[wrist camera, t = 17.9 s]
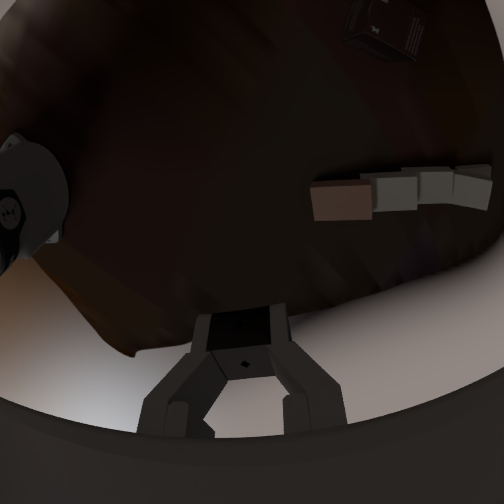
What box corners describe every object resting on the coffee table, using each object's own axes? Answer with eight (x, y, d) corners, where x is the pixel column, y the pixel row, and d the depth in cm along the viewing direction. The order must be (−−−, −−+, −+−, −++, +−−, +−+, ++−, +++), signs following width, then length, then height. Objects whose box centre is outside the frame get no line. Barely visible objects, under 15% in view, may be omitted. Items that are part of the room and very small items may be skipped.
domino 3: (404, 204, 32) (451, 202, 30) (403, 172, 30) (453, 171, 27) (401, 198, 34) (447, 196, 31) (400, 167, 31) (448, 166, 29)
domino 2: (363, 212, 33) (416, 209, 30) (360, 179, 31) (417, 176, 28) (362, 205, 34) (414, 202, 32) (359, 173, 32) (413, 171, 29)
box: (385, 63, 24) (417, 63, 18) (337, 40, 23) (361, 32, 17) (398, 23, 21) (431, 16, 15) (352, 0, 20) (377, -17, 14)
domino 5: (444, 202, 32) (486, 210, 28) (448, 172, 29) (492, 181, 26) (443, 196, 33) (484, 204, 30) (446, 168, 30) (489, 176, 27)
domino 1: (314, 220, 34) (371, 219, 31) (309, 187, 31) (370, 185, 29) (316, 213, 35) (371, 212, 33) (311, 181, 33) (369, 178, 30)
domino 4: (457, 198, 32) (488, 193, 31) (460, 169, 29) (491, 166, 28) (451, 192, 33) (481, 188, 32) (453, 164, 31) (484, 162, 30)
